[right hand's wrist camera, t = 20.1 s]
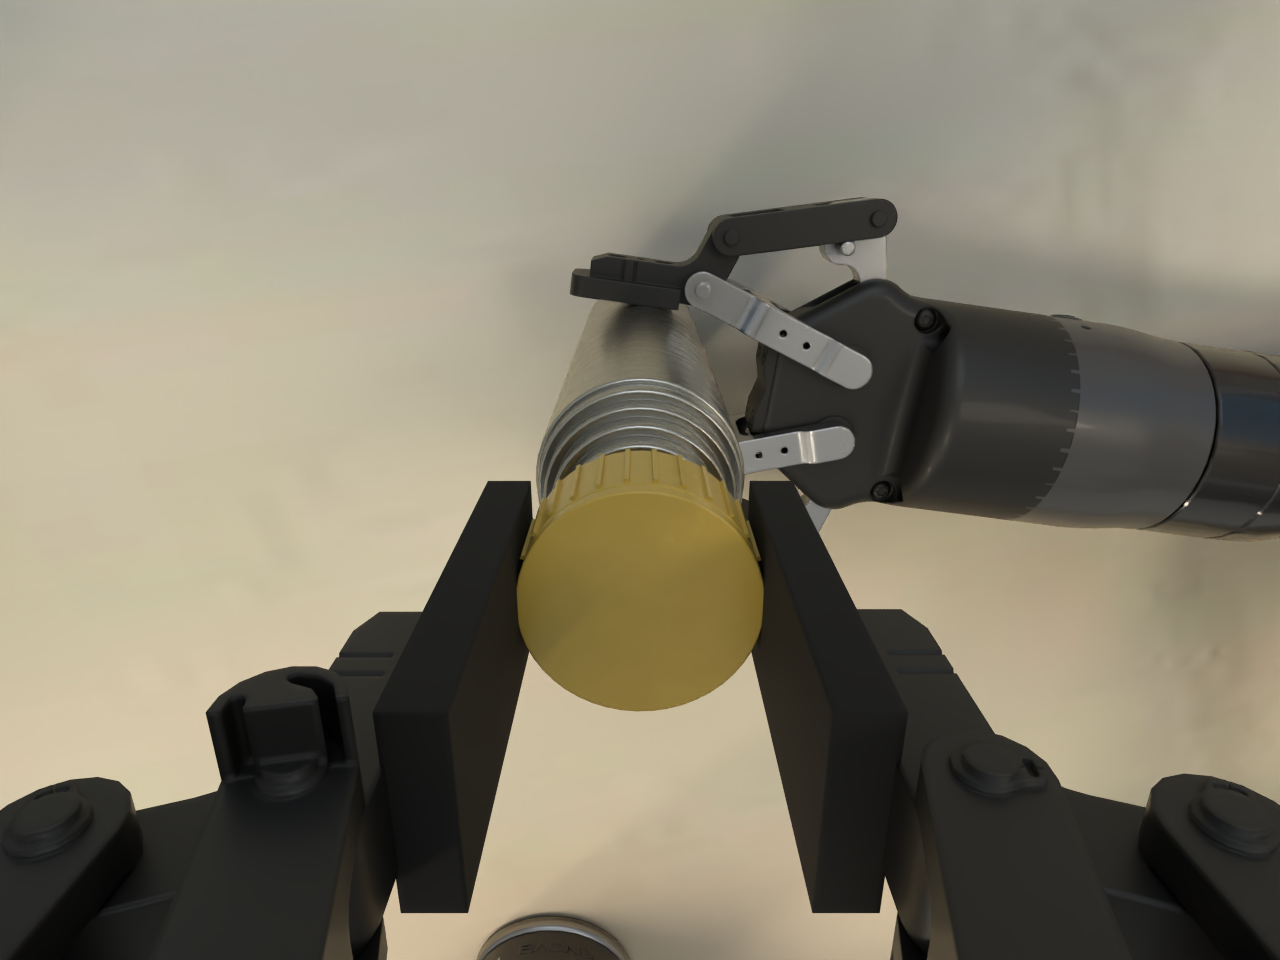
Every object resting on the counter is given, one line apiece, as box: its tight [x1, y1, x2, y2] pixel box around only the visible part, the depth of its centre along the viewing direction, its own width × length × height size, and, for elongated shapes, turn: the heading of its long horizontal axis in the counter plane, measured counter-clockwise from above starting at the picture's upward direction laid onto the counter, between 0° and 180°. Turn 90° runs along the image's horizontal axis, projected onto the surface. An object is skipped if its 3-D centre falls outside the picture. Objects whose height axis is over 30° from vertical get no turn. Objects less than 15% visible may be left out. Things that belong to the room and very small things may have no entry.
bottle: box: [536, 300, 744, 504], centre depth 24 cm, size 5×5×22 cm
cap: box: [517, 449, 764, 711], centre depth 13 cm, size 4×4×2 cm
